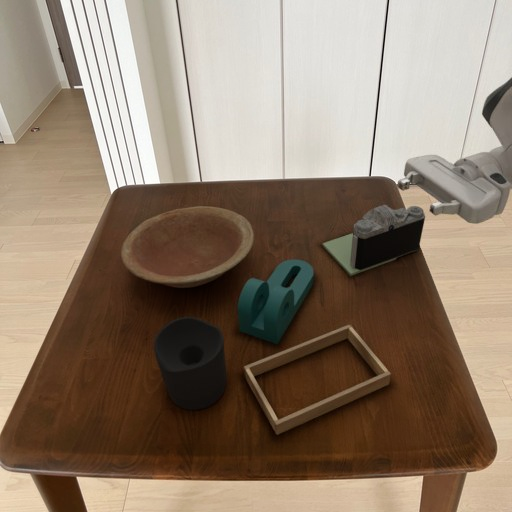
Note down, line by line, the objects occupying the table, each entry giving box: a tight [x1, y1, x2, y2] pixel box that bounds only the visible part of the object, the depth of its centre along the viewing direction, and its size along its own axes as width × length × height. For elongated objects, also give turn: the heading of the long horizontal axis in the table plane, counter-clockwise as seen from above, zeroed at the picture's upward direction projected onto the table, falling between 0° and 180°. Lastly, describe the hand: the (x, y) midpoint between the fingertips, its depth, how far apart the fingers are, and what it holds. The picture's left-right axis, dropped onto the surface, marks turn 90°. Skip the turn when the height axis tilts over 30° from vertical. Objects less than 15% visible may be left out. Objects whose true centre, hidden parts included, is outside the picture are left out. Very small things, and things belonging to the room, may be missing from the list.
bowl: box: [120, 205, 255, 289], centre depth 93 cm, size 24×24×8 cm
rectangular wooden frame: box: [243, 324, 392, 436], centre depth 74 cm, size 11×18×2 cm, turn 115°
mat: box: [322, 232, 397, 277], centre depth 97 cm, size 10×10×1 cm
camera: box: [350, 204, 426, 270], centre depth 93 cm, size 15×7×10 cm, turn 115°
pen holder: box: [153, 316, 227, 411], centre depth 72 cm, size 9×9×10 cm
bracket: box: [237, 259, 314, 345], centre depth 85 cm, size 18×7×8 cm, turn 153°
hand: (415, 197), depth 95 cm, fingers open, 8 cm apart
